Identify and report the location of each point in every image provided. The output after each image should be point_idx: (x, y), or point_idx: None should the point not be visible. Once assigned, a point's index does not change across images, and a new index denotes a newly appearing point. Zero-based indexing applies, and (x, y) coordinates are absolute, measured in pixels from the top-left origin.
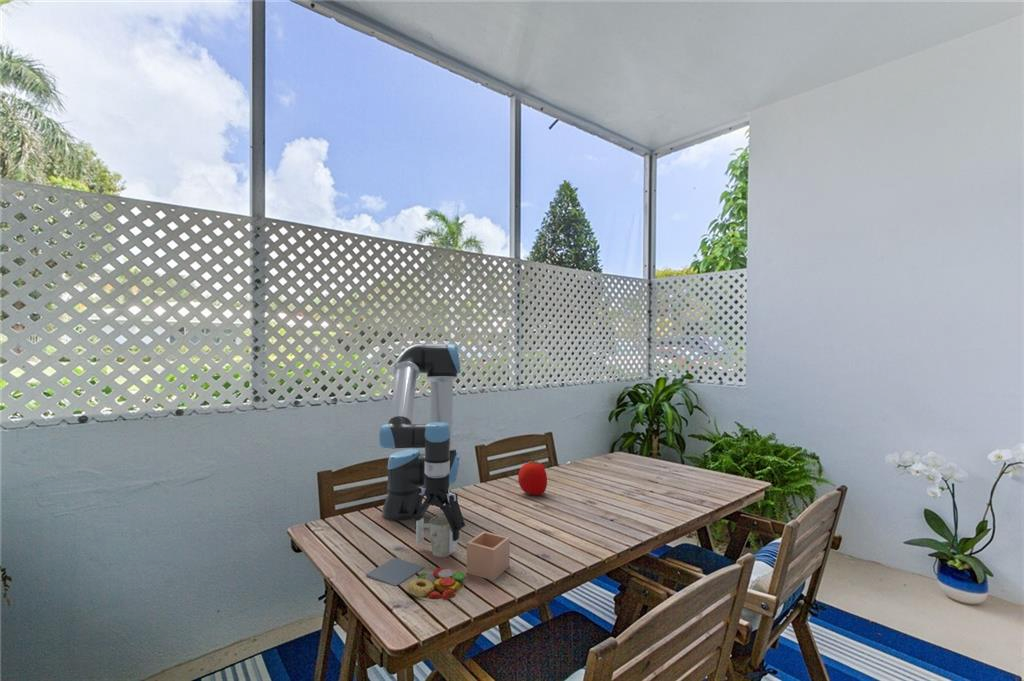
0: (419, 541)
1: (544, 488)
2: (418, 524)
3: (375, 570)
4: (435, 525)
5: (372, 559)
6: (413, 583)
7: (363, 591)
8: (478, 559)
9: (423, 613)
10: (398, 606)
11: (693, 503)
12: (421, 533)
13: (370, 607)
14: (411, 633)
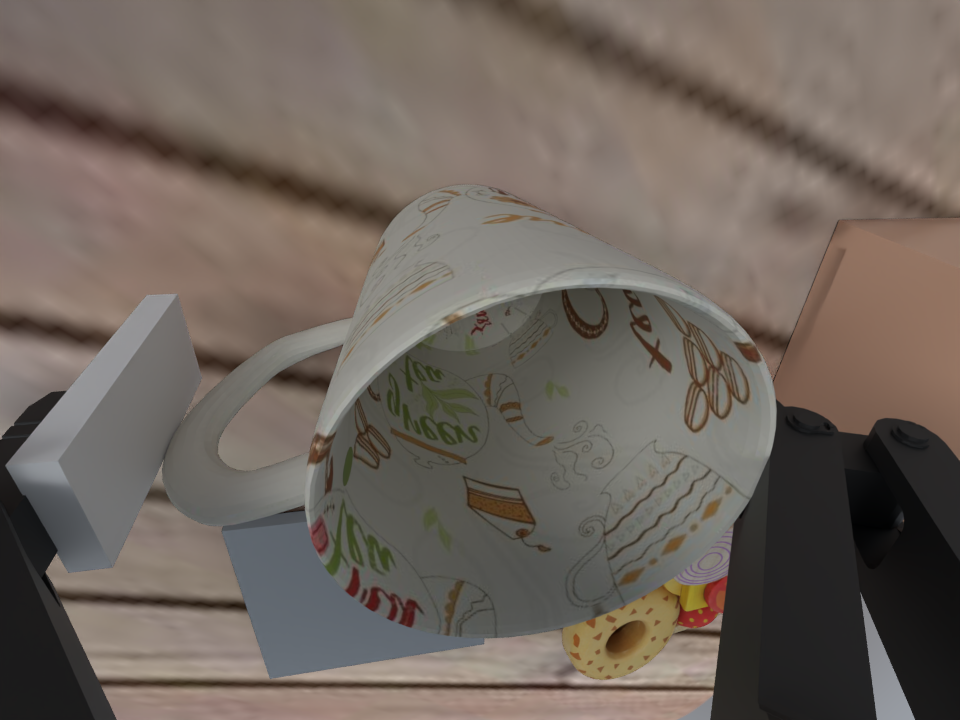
0: (195, 356)
1: None
2: (127, 516)
3: (276, 645)
4: (550, 627)
5: (98, 589)
6: (602, 667)
7: (378, 700)
8: None
9: (680, 642)
10: (575, 668)
11: None
12: (161, 370)
13: (487, 712)
14: (689, 690)
